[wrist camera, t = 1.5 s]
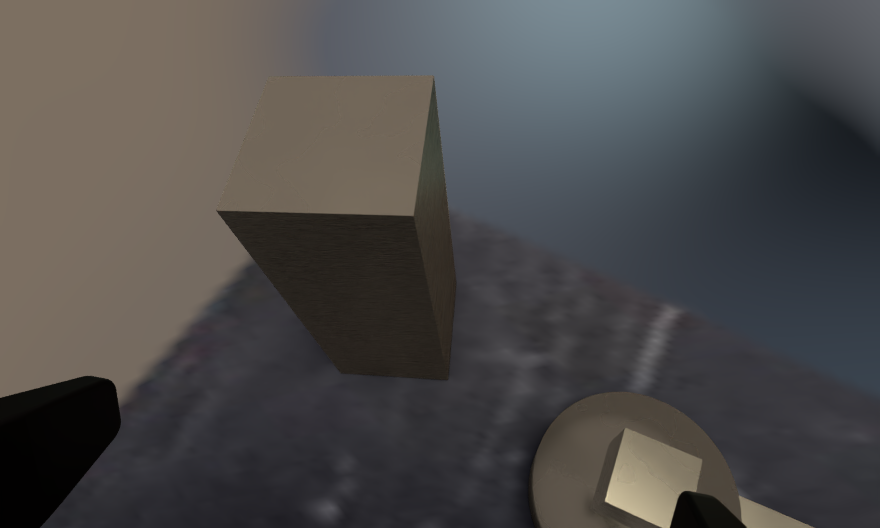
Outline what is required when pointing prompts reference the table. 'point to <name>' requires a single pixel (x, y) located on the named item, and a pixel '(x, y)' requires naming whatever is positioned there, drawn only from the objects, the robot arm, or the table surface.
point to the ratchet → (630, 468)
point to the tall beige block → (352, 217)
